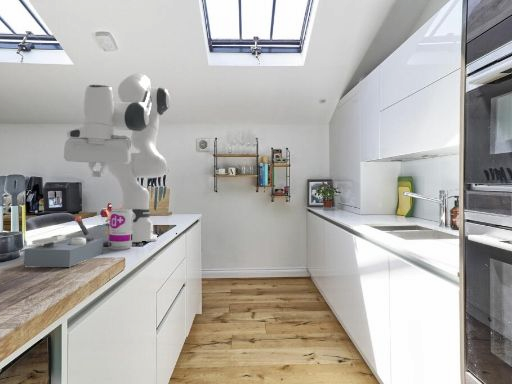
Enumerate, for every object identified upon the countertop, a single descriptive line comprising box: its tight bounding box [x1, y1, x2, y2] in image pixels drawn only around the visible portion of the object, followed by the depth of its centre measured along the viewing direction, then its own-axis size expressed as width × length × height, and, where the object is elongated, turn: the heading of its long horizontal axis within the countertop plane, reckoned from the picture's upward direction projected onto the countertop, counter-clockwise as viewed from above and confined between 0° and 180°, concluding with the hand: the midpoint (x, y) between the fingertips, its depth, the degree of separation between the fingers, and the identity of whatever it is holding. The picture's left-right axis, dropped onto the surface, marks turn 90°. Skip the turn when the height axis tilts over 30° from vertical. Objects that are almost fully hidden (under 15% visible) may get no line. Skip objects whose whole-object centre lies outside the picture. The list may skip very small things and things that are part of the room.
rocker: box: [31, 234, 66, 245], centre depth 91 cm, size 4×7×1 cm, turn 94°
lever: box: [74, 216, 90, 236], centre depth 103 cm, size 2×2×7 cm
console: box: [23, 236, 104, 267], centre depth 97 cm, size 22×12×6 cm, turn 4°
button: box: [71, 236, 86, 245], centre depth 97 cm, size 4×4×4 cm
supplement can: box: [108, 208, 133, 251], centre depth 120 cm, size 8×8×15 cm
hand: (97, 176), depth 103 cm, fingers closed
